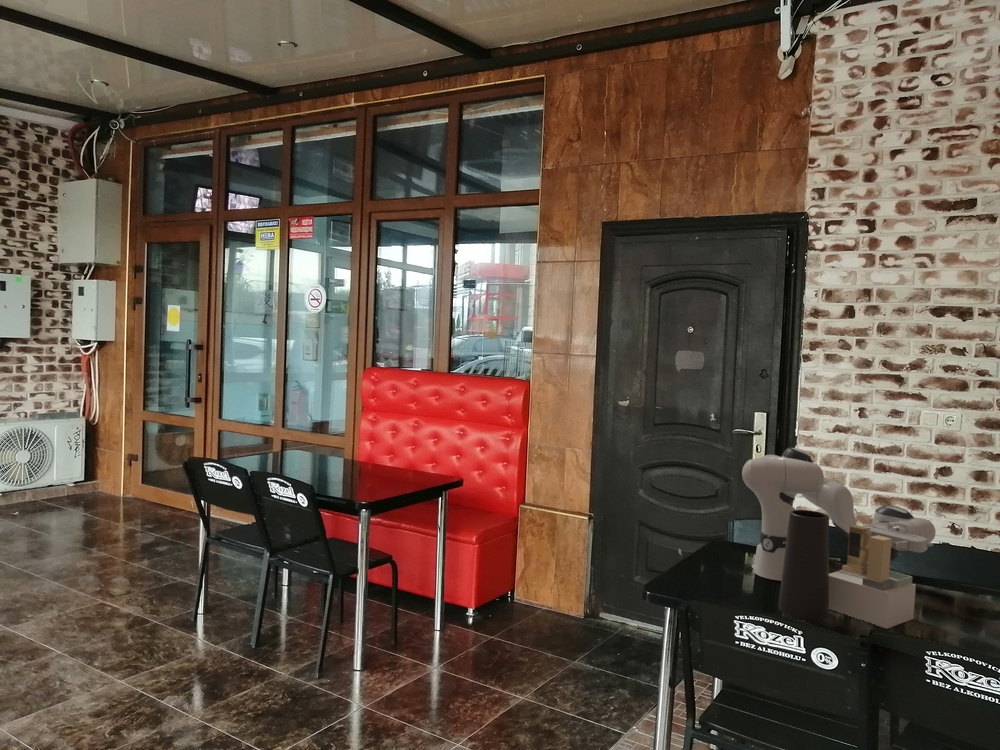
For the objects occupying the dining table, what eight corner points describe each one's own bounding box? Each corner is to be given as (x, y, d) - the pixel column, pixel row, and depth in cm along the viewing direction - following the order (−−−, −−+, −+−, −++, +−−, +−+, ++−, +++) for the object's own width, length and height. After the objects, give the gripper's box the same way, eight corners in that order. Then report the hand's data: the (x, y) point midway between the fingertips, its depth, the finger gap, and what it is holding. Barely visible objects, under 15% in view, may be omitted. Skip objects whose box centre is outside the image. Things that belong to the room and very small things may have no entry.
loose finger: (852, 567, 244) (855, 523, 244) (871, 572, 240) (875, 528, 239) (842, 570, 241) (845, 525, 240) (861, 575, 236) (864, 530, 235)
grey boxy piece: (850, 599, 247) (856, 522, 246) (913, 618, 232) (919, 536, 230) (823, 607, 238) (828, 527, 237) (886, 628, 223) (892, 543, 221)
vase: (769, 610, 234) (775, 512, 232) (791, 600, 243) (797, 506, 242) (815, 624, 224) (822, 521, 222) (836, 613, 234) (842, 515, 232)
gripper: (935, 554, 247) (913, 560, 239) (870, 538, 263) (847, 543, 255) (936, 533, 247) (914, 539, 238) (872, 519, 263) (849, 524, 255)
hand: (879, 541), depth 247 cm, fingers open, 8 cm apart
